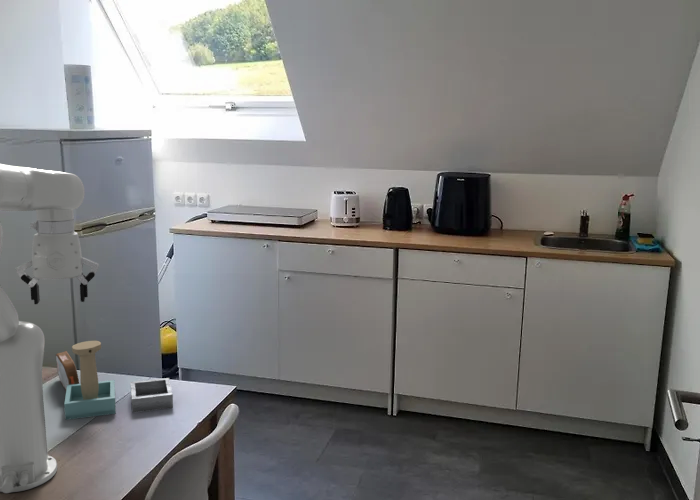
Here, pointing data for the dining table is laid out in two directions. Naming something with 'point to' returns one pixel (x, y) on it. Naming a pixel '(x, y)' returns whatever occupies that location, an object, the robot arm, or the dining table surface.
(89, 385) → the handle
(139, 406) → the collar
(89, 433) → the dining table surface
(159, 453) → the dining table surface
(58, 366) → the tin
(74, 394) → the tray
